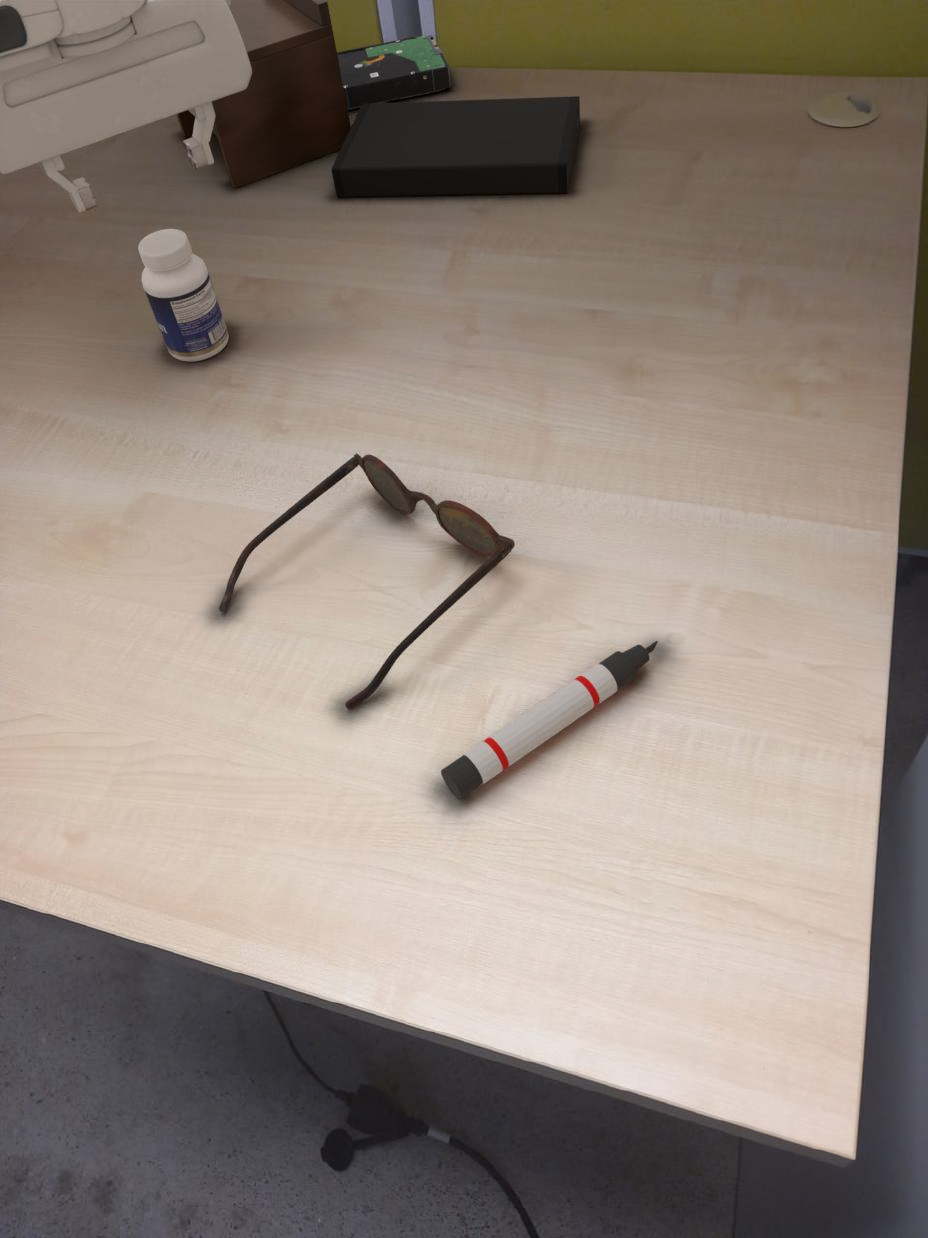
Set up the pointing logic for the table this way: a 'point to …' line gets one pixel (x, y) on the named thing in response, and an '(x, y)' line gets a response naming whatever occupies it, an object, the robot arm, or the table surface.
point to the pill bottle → (181, 296)
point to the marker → (544, 720)
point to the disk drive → (393, 71)
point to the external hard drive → (459, 148)
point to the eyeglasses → (449, 514)
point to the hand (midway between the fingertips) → (145, 185)
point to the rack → (281, 91)
